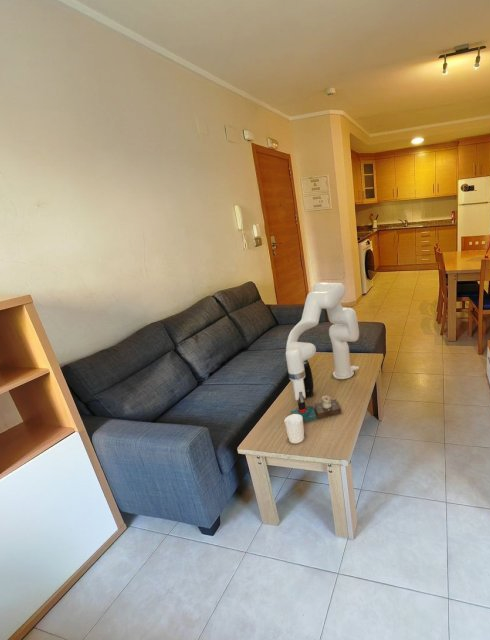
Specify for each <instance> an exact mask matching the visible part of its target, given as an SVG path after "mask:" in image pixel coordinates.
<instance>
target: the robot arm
mask: <svg viewBox="0 0 490 640" xmlns="http://www.w3.org/2000/svg"><path fill="white" fill-rule="evenodd" d="M345 294H346V287H345V285H344V283H341V282H326V281H325V282H323V281H322V282H321V281H320V282H316V283H314V284H313V285H312V291H310V292H309V293H307V295H306V298H305V302H304V308H303V311H302V314H301V319H300V320H299V322H298V323H296V325H294V326H293V327H292V329H291V330H290V332H289V334H288V336H287V340H286V344H285V345H286V347H285V360H286V366H287V372H288V378H289V380H290V381H291V387H292V393H293V396H294V400H295V402H296V401H297V408H299V410H302V409H305V408H306V407H305V406H306V401H305V399H306V398H307V397H306V396H305V387H304V380H303V378H305V369H304V361H305V360H308V361H309V360H310V359H312V358H313V357H314V356H315V355H316V352H317V348H316V345H315V344H313V343H312V342H304V341H298V340H299V338H300V336H301V335H302V334H303V333H304V332H306V331H308V330H310V329H312V328H314V327H316V326H318V325H319V322H320V317H321V313H322V309H324V310H326V314H327V319H328V321H329V323H331V324H332V325H330V327H329V328H328V336H329V340H330V342H331V343H330V344H331V347H332V358H333V366H334V371H333V372H332V377H333V378H334V379H336V380H347V379H350V378H352V377H353V376H354V374H355V371H358V370H359V369H360V367H359V366H358V365H357V366H356V365H351V356H350V347H349V343H348V342H350V343H355V342H357V341H358V340H359V338H360V328H359V322H358V316H357V312H356V310H355V309H354V308H352V307H347V306H345V307H344V306H343V305H342V302H341V300H342V299H343V298H344V296H345Z"/></svg>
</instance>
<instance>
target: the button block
mask: <svg viewBox="0 0 490 640" xmlns="http://www.w3.org/2000/svg"><path fill="white" fill-rule="evenodd" d="M305 407H306V410H307V411H305V412H303V413H301V412H299V408H298V407H297V408H296V409H293V410H290V415H292V414H300V415H301V416H302V417H303V424H304V423H308V422H312V421H315V420H317V413H316V410H315V407H314V406H313V405H310V406H306V405H305Z"/></svg>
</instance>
